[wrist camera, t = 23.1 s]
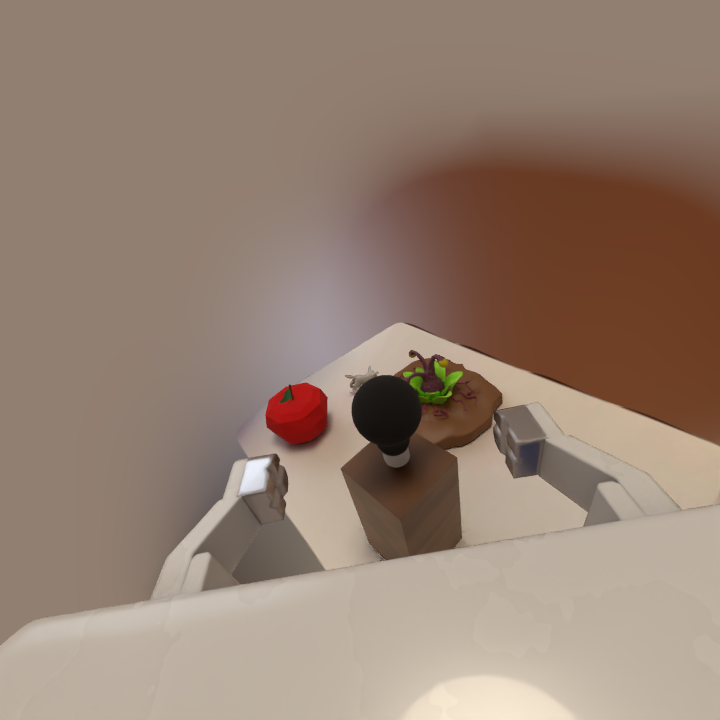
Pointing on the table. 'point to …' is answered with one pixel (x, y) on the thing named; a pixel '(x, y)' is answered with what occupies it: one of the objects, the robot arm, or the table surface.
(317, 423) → the apple
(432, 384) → the plant
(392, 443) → the light bulb
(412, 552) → the walnut block
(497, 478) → the table surface
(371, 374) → the dog figurine
